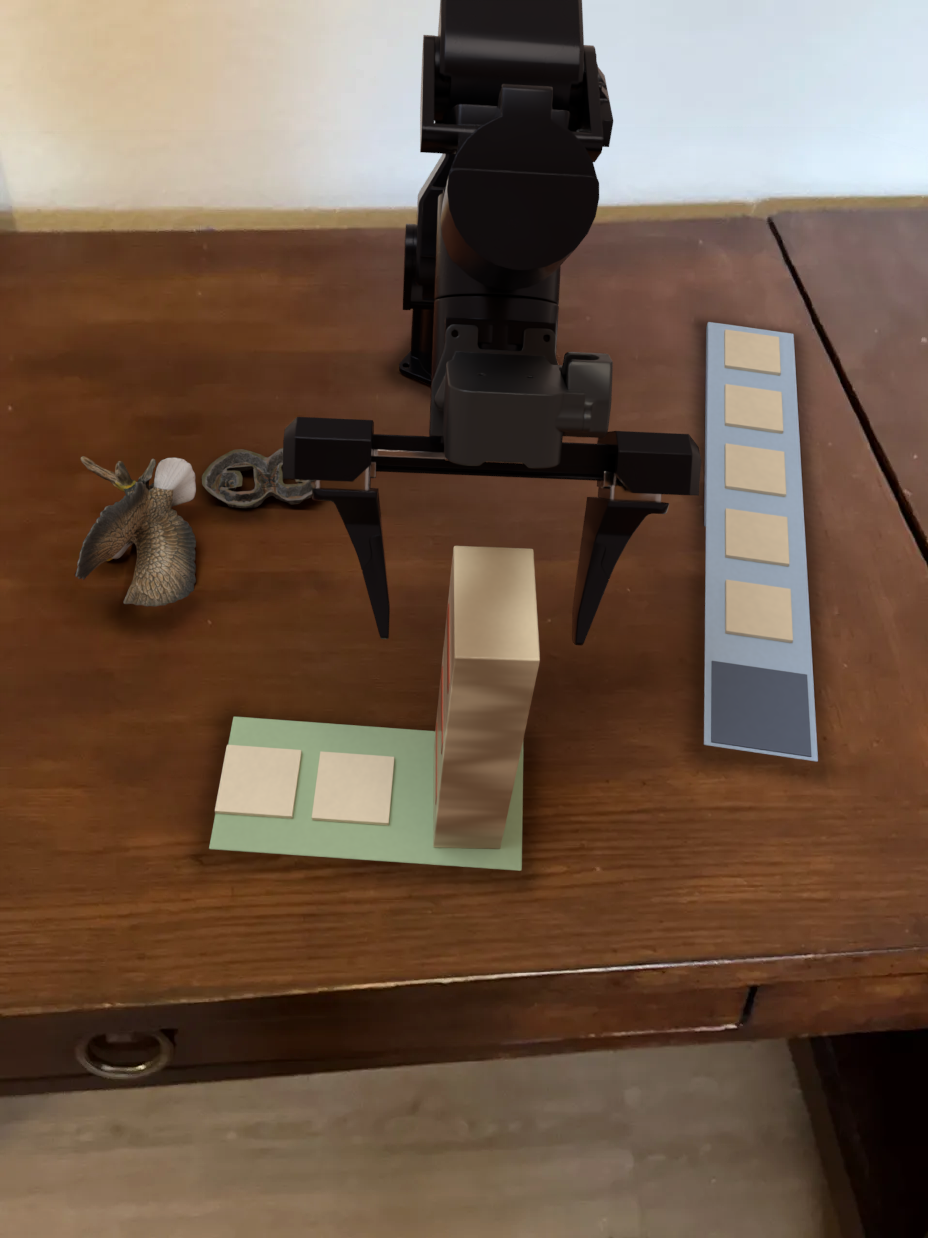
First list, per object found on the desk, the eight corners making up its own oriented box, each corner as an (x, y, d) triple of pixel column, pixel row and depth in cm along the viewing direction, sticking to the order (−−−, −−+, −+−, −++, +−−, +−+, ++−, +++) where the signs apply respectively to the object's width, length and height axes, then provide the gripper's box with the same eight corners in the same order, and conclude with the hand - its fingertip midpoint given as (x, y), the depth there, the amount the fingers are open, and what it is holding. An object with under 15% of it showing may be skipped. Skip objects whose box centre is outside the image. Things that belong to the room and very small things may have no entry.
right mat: (815, 766, 68) (820, 758, 67) (701, 750, 68) (705, 741, 67) (791, 339, 90) (794, 330, 90) (706, 327, 90) (708, 317, 90)
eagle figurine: (53, 505, 74) (48, 602, 67) (102, 415, 70) (102, 508, 64) (169, 547, 78) (175, 642, 71) (221, 464, 74) (232, 556, 68)
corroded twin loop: (333, 509, 77) (333, 498, 76) (205, 519, 75) (203, 508, 74) (325, 452, 80) (325, 441, 79) (201, 462, 78) (199, 450, 77)
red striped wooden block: (431, 848, 62) (453, 657, 49) (432, 747, 66) (452, 544, 53) (501, 849, 63) (541, 660, 49) (498, 749, 66) (534, 547, 53)
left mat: (209, 854, 62) (208, 846, 61) (234, 721, 67) (232, 713, 66) (520, 875, 63) (522, 868, 62) (522, 742, 67) (524, 734, 67)
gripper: (274, 266, 47) (266, 664, 49) (747, 291, 48) (720, 678, 50) (296, 302, 58) (289, 625, 60) (681, 321, 59) (661, 638, 61)
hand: (481, 641), depth 58 cm, fingers open, 9 cm apart
